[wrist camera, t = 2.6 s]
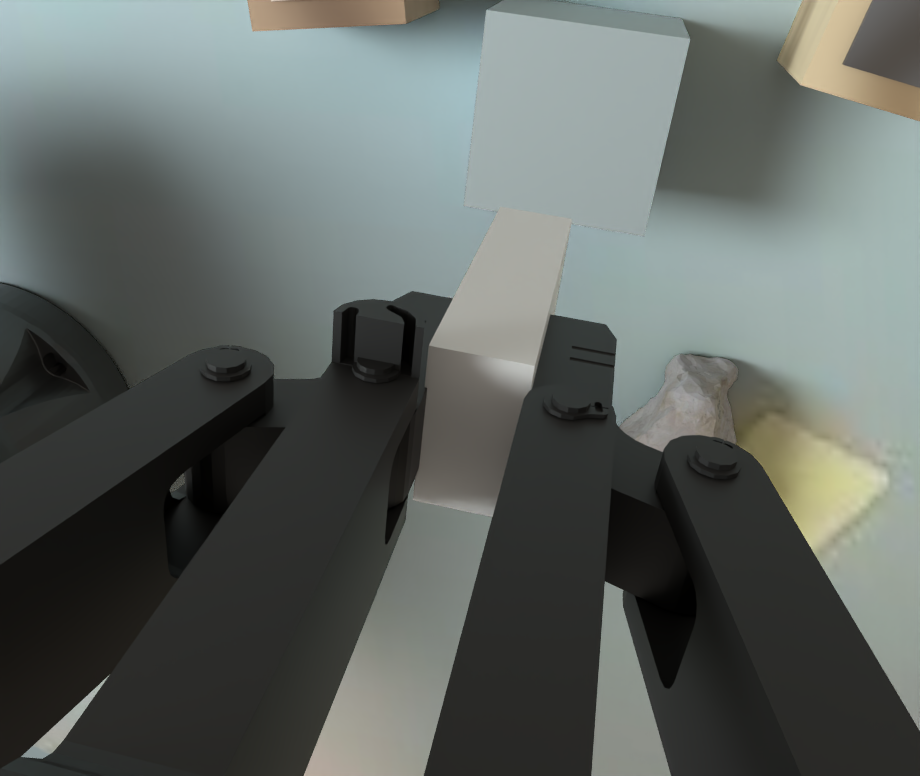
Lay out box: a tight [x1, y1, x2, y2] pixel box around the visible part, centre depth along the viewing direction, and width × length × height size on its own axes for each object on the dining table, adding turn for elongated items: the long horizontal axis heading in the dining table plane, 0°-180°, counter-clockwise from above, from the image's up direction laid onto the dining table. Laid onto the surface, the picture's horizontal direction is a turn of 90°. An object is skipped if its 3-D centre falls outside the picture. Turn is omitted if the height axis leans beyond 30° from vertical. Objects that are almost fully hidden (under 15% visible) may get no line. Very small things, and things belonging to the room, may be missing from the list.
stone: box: [619, 354, 738, 452], centre depth 41 cm, size 10×8×6 cm
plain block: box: [464, 0, 690, 236], centre depth 33 cm, size 7×7×7 cm
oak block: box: [777, 0, 920, 121], centre depth 30 cm, size 6×6×6 cm
